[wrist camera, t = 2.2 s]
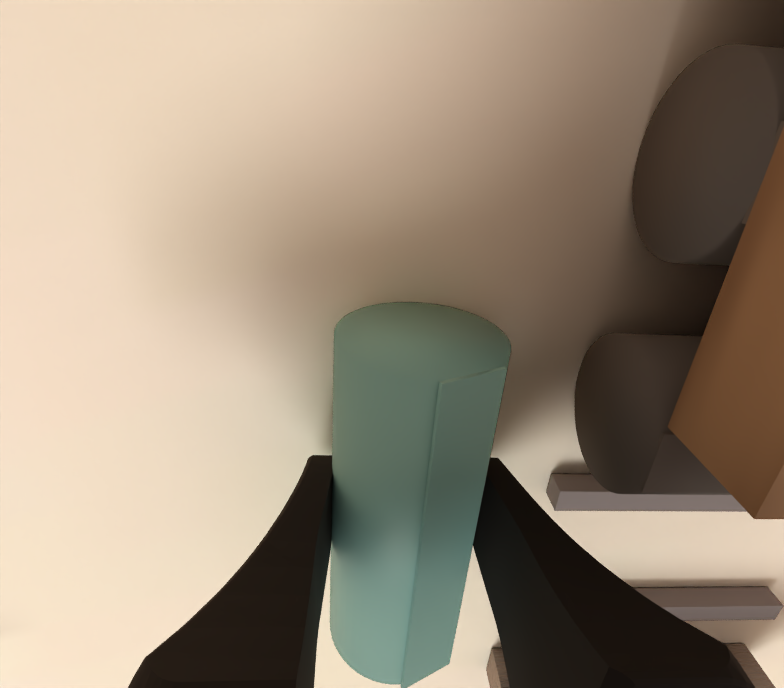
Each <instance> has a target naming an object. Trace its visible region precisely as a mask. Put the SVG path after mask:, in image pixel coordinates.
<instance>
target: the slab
mask: <svg viewBox="0 0 784 688" xmlns="http://www.w3.org/2000/svg"><path fill="white" fill-rule="evenodd" d="M668 428H669V429H670V430H671V431H672V432H673V433H674V434H675V435H676V436H677V437H678V439H679V440H680V441H681V442H682V443H683V444H684V445H685V446H686V447H687V448H688V449H689V450H690V451H691V452H692V453H693V454H694V456H695V457H696V458H697V459H698V460H699V461H700V462H701V463H702V464H703V465H704V466H705V467H706V468H707V469H708V470H709V471H710V473H711V474H712V475H713V476H714V477H715V478H716V479H717V480H718V481H719V482H720V483H721V484H722V485H723V486H724V487H725V488H726V490H727V491H728V492H729V493H730V494H731V495H732V496H733V497H734V498H735V499H736V500H737V501H738V502H739V503H740V504H741V505H742V507H743V508H744V509H745V510H746V511H747V512H748V513H749V514H750V515H751V516H752V517H753V518H754V519H784V127H783V130H782V132H781V135H780V138H779V140H778V143H777V145H776V148H775V151H774V153H773V156H772V158H771V161H770V163H769V166H768V169H767V171H766V174H765V176H764V179H763V182H762V184H761V187H760V189H759V192H758V194H757V197H756V200H755V202H754V205H753V207H752V210H751V212H750V215H749V218H748V220H747V223H746V225H745V228H744V231H743V233H742V236H741V238H740V241H739V243H738V246H737V249H736V251H735V254H734V256H733V259H732V261H731V264H730V267H729V269H728V272H727V274H726V277H725V280H724V282H723V285H722V287H721V290H720V292H719V295H718V298H717V300H716V303H715V305H714V308H713V311H712V313H711V316H710V318H709V321H708V323H707V326H706V329H705V331H704V334H703V336H702V339H701V341H700V344H699V347H698V349H697V352H696V354H695V357H694V360H693V362H692V365H691V367H690V370H689V372H688V375H687V378H686V380H685V383H684V385H683V388H682V390H681V393H680V396H679V398H678V401H677V403H676V406H675V409H674V411H673V414H672V416H671V419H670V421H669V424H668Z"/></svg>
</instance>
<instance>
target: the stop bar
mask: <svg viewBox="0 0 784 688" xmlns="http://www.w3.org/2000/svg"><path fill="white" fill-rule="evenodd" d="M725 645H726V646H727V647H728V648H729V650H730V651H731V652H732V654H733V655H734V656H735V658H736V659H737V661H738V662H739V663H740V665H741V666H742V668H743V669H744V671H745V672H746V674H747V675H748V677H749V679H750V680H751V682H752V683H753V685H754V686H755V688H775V686H774V685H773V684H772V682H771V681H770V679H769V678H768V677H767V675H766V674H765V672H764V671H763V670H762V668H761V667H760V665H759V664H758V662H757V661H756V660H755V658H754V657H753V655H752V654H751V653H750V651H749V650H748V648H747V647H746V645H745V644H725ZM486 671H487V676H488V680H489V685H490V688H510V687H509V681H508V676H507V671H506V666H505V661H504V656H503V651H502V648H492V650H491V654H490V658H489V662H488V666H487V669H486Z"/></svg>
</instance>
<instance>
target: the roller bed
mask: <svg viewBox="0 0 784 688" xmlns="http://www.w3.org/2000/svg"><path fill="white" fill-rule="evenodd" d="M783 127H784V48H777V47H766V46H755V45H743V44H727V45H723V46H719V47H717V48H714V49H712V50H710V51H708V52H706V53H705V54H703V55H702V56H700V57H698V58H697V59H696V60H695V61H694V62H692V63H691V64H690V65H689V66H688V67H687V68H686V69H685V70H684V71H683V72H682V73H681V74H680V75H679V76H678V77H677V79H676V80H675V81H674V82H673V83H672V85H671V86H670V88H669V89H668V90H667V92H666V93H665V95H664V96H663V98H662V100H661V101H660V103H659V105H658V107H657V108H656V110H655V112H654V114H653V116H652V118H651V121H650V123H649V125H648V127H647V130H646V132H645V135H644V138H643V141H642V144H641V147H640V150H639V154H638V158H637V163H636V168H635V174H634V182H633V211H634V218H635V223H636V227H637V230H638V233H639V236H640V238H641V240H642V242H643V243H644V245H645V246H646V248H647V249H648V250H649V251H650V252H651V253H652V254H653V255H654V256H656V257H657V258H659V259H661V260H663V261H666V262H671V263H685V264H706V265H726V266H730V264H731V261H732V259H733V256H734V254H735V251H736V249H737V246H738V243H739V241H740V238H741V236H742V233H743V231H744V228H745V225H746V223H747V220H748V218H749V215H750V212H751V210H752V207H753V205H754V202H755V200H756V197H757V194H758V192H759V189H760V187H761V184H762V182H763V179H764V176H765V174H766V171H767V169H768V166H769V163H770V161H771V158H772V156H773V153H774V151H775V148H776V145H777V143H778V140H779V138H780V135H781V132H782V130H783ZM701 339H702V336H679V335H652V334H624V333H610V334H607V335H604V336H602V337H600V338H599V339H598V340H597V341H595V342H594V344H593V345H592V346H591V347H590V349H589V350H588V352H587V354H586V355H585V357H584V360H583V362H582V364H581V368H580V371H579V374H578V379H577V384H576V391H575V424H576V431H577V436H578V441H579V445H580V449H581V452H582V455H583V457H584V460H585V462H586V464H587V466H588V468H589V470H590V472H591V474H551V477H550V481H549V484H548V488H547V492H546V493H547V495H548V497H549V499H550V501H551V504H552V506H553V508H554V510H555V511H746V510H745V509H744V508H743V507H742V505H741V504H740V503H739V502H738V501H737V500H736V499H735V498H734V497H733V496H732V495H731V494H730V493H729V492H728V491H727V490H726V488H725V487H724V486H723V485H722V484H721V483H720V482H719V481H718V480H717V479H716V478H715V477H714V476H713V475H712V474H711V473H710V471H709V470H708V469H707V468H706V467H705V466H704V465H703V464H702V463H701V462H700V461H699V460H698V459H697V458H696V457H695V456H694V454H693V453H692V452H691V451H690V450H689V449H688V448H687V447H686V446H685V445H684V444H683V443H682V442H681V441H680V440H679V439H678V437H677V436H676V435H675V434H674V433H673V432H672V431H671V430H670V429H669V428H668V424H669V421H670V419H671V416H672V414H673V411H674V409H675V406H676V403H677V401H678V398H679V396H680V393H681V390H682V388H683V385H684V383H685V380H686V378H687V375H688V372H689V370H690V367H691V365H692V362H693V360H694V357H695V354H696V352H697V349H698V347H699V344H700V341H701ZM634 589H635V590H636V591H638V592H639V593H641V594H642V595H644V596H645V597H647V598H648V599H650V600H651V601H652V602H654V603H656V604H657V605H659V606H660V607H662V608H663V609H665V610H667V611H668V612H670V613H671V614H673V615H674V616H676V617H678V618H679V619H681V620H682V621H701V620H769V619H775V618H776V617H777V615H778V614H779V612H780V610H781V609H782V607H783V605H782V603H781V602H780V601H779V600H778V599H777V598H776V596H775V595H774V594H773V593H772V592H771V590H770V589H769V588H768V587H708V588H634Z"/></svg>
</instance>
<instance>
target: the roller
mask: <svg viewBox="0 0 784 688" xmlns="http://www.w3.org/2000/svg"><path fill="white" fill-rule="evenodd" d="M510 353H511V344H510V341H509V339H508V338H507V336H506V335H505V334H504V333H503V331H502V330H500V329H499V328H498V327H497V326H495V325H494V324H492V323H491V322H489V321H487V320H485V319H484V318H481V317H479V316H477V315H474V314H472V313H469V312H466V311H463V310H459V309H456V308H452V307H447V306H442V305H436V304H428V303H415V302H396V303H384V304H378V305H372V306H368V307H364V308H361V309H358V310H356V311H353V312H351V313H349V314H348V315H346V316H345V317H343V318H342V319H341V320H340V321H339V322H338V323H337V325H336V327H335V330H334V364H333V434H332V470H333V476H332V541H331V573H330V630H331V635H332V639H333V642H334V644H335V647H336V649H337V650H338V652H339V654H340V655H341V657H342V658H343V660H344V661H345V662H346V663H347V664H348V665H349V666H350V667H351V668H352V669H354V670H355V671H356V672H357V673H359V674H361V675H362V676H364V677H366V678H368V679H371V680H373V681H376V682H380V683H385V684H401V688H407V687H409V686H411V685H412V684H414V683H416V682H418V681H419V680H421V679H423V678H425V677H426V676H428V675H430V674H432V673H434V672H435V671H437V670H439V669H441V668H442V667H444V666H446V665H448V664H449V663H450V658H451V652H452V647H453V642H454V638H455V633H456V628H457V623H458V618H459V613H460V608H461V603H462V597H463V592H464V587H465V582H466V577H467V572H468V567H469V562H470V557H471V552H472V547H473V542H474V536H475V531H476V526H477V521H478V516H479V511H480V506H481V501H482V496H483V491H484V486H485V480H486V475H487V470H488V465H489V460H490V455H491V450H492V445H493V440H494V435H495V430H496V424H497V419H498V414H499V409H500V404H501V399H502V394H503V389H504V384H505V379H506V374H507V369H508V363H509V358H510Z"/></svg>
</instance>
